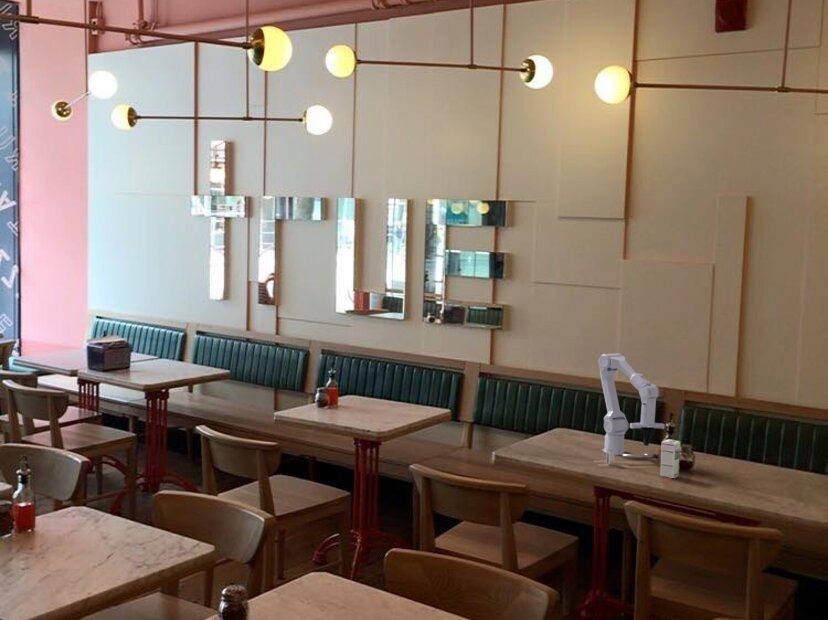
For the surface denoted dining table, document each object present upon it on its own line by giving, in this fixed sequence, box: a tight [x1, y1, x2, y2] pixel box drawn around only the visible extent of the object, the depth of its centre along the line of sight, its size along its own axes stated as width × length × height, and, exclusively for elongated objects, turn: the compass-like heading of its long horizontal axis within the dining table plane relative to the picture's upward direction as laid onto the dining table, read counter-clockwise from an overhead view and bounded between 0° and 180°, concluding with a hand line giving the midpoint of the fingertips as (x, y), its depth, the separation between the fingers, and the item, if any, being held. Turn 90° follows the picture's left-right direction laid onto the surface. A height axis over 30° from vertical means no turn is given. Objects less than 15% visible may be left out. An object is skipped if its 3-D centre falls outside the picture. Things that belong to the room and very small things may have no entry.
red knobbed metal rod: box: [621, 448, 661, 464], centre depth 397 cm, size 18×6×6 cm, turn 98°
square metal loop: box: [604, 449, 616, 466], centre depth 395 cm, size 6×3×6 cm, turn 8°
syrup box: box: [659, 439, 681, 479], centre depth 381 cm, size 6×6×14 cm
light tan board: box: [591, 459, 660, 469], centre depth 396 cm, size 12×25×1 cm, turn 98°
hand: (645, 445), depth 399 cm, fingers closed
